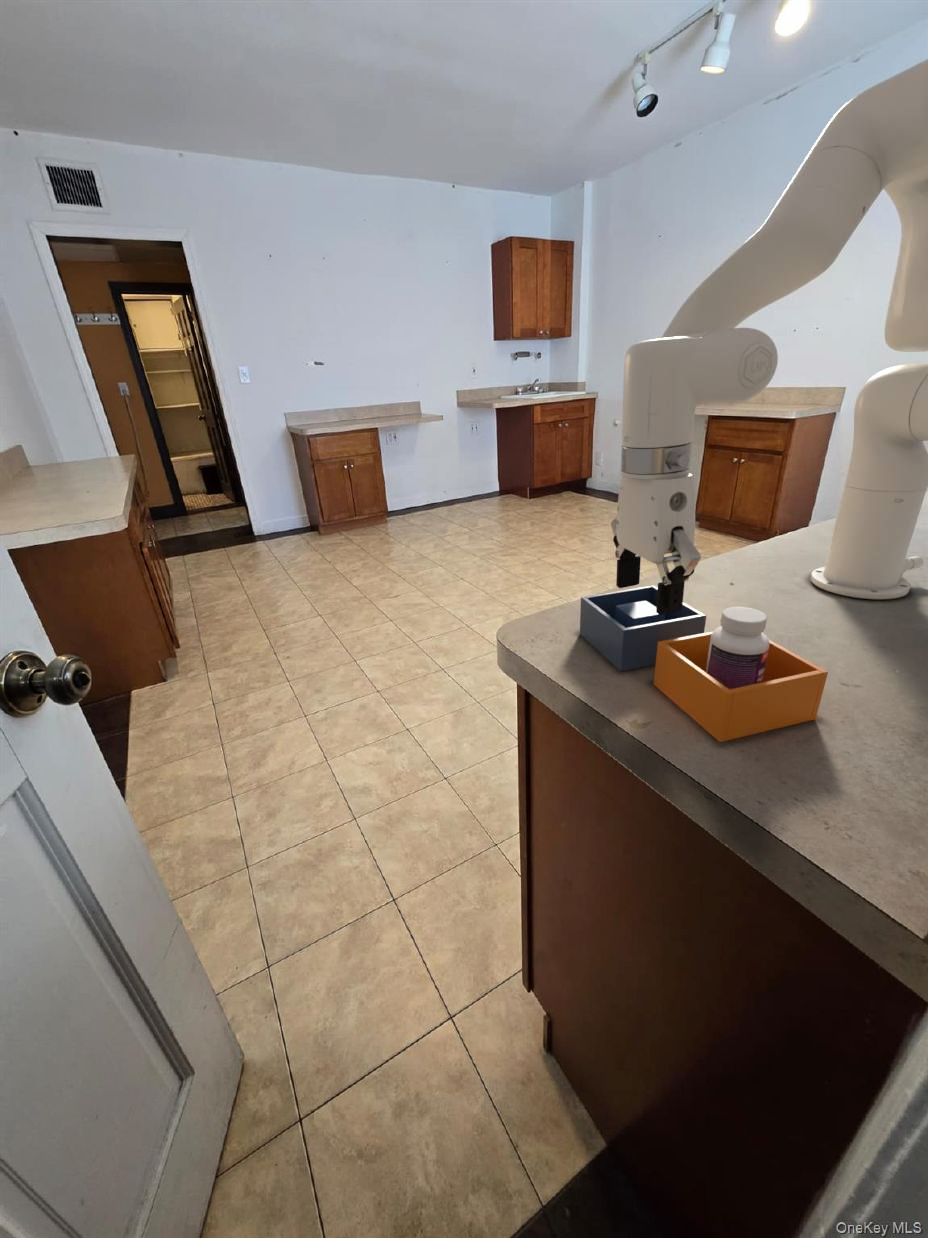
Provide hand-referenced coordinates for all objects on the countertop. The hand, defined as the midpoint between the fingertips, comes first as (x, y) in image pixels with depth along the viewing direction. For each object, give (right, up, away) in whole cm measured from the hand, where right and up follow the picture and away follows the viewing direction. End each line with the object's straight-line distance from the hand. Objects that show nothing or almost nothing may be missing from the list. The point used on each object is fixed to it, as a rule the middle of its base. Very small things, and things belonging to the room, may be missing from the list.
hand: (647, 597), depth 66 cm
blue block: (0, -6, +2) cm, 6 cm away
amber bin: (+5, -12, -10) cm, 16 cm away
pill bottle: (+5, -11, -11) cm, 16 cm away
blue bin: (0, -6, +3) cm, 7 cm away
